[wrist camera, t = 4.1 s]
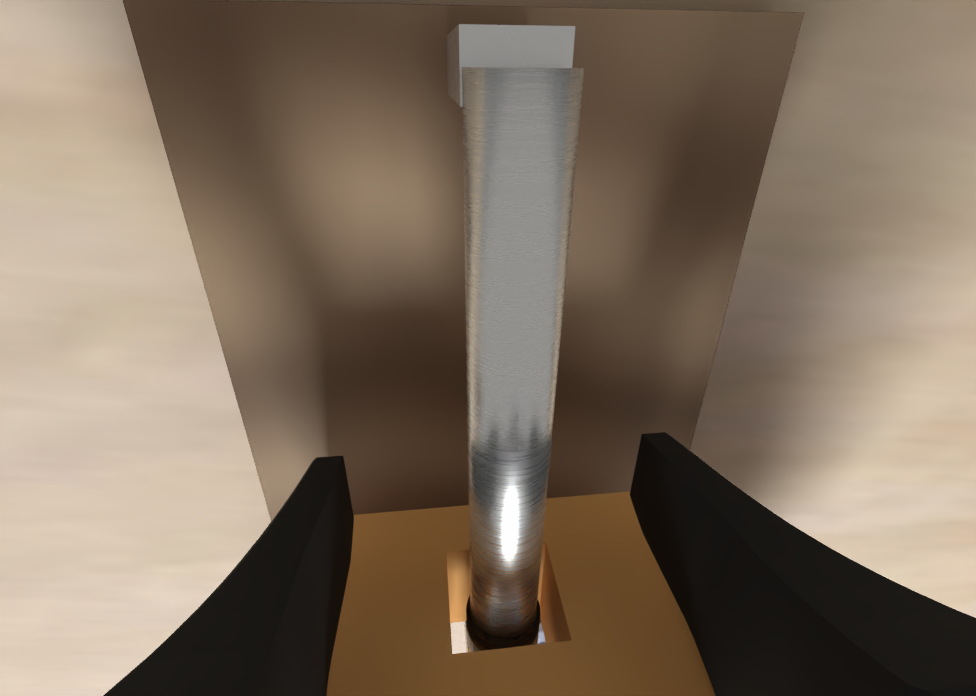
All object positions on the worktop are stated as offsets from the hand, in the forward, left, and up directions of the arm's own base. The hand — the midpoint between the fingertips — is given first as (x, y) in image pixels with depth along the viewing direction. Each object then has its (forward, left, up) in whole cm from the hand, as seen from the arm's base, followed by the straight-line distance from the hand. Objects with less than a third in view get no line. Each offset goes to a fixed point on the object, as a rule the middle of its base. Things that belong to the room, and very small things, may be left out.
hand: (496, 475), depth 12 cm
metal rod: (+1, 0, -3) cm, 3 cm away
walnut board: (+1, 0, -3) cm, 3 cm away
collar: (-4, 0, -1) cm, 4 cm away
